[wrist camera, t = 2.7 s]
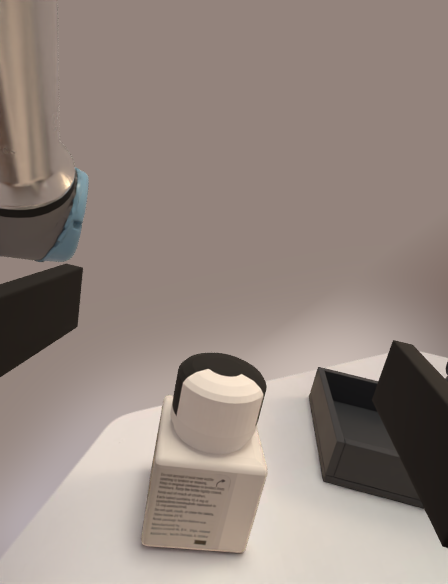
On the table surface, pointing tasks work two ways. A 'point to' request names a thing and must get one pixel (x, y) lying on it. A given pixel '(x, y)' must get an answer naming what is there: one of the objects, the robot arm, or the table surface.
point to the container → (207, 458)
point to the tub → (356, 438)
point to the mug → (447, 372)
